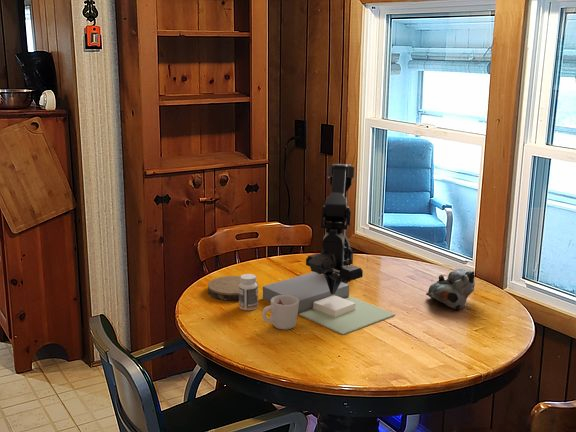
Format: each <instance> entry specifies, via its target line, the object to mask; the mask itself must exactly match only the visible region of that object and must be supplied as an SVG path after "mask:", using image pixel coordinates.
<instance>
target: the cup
mask: <svg viewBox="0 0 576 432" xmlns="http://www.w3.org/2000/svg"><path fill="white" fill-rule="evenodd" d="M298 307H299V299H298V298H296V297H294V296H290V295H278V296H275V297H273V298H272V299H271V302H270V305H267V306H264V308H263V310H262V313H261V314H262V319H263V321H264V322H266V323H272V325H273V326H274V327H275V328H277V329H280V330H283V331H284V330H286V331H287V330H291V329H293V328H295V326H296V325H297V320H298ZM268 311H270V312H271V313H270V317H269V318H268V317H267V312H268Z"/></svg>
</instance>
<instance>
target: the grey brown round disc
mask: <svg viewBox="0 0 576 432" xmlns="http://www.w3.org/2000/svg"><path fill="white" fill-rule="evenodd" d="M240 277H241V276H240V275H226V276H221V277H220V276H219V277H217V278H214V279H211V280H210V281H208V283H207V294H208V296H209V297H210V298H211V299H213V300H218V301H221V302H228V303H229V302H230V303H234V302H239V284H240V283H241V280H240ZM255 282H256V283H257V285H258V286H259V284H258V281H257V280H256V281H255Z"/></svg>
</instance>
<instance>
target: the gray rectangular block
mask: <svg viewBox="0 0 576 432" xmlns="http://www.w3.org/2000/svg"><path fill="white" fill-rule="evenodd" d="M278 295H290V296H294V297H296V298H298V299H299V307H298V314H300V313H303V312H306V311H309V310H312V309H314V308H313V302H315V301H318V300H321V299H323V298H326V297H329V296H332V295H335V296H338V297H341V298H343V299H346V298H349V297H350V284H349V283H346V282H344V283H343V282H341V283H340V285H339V287H338V289H337V290H336V292H335V294H331V293H330V290H329V287H328V284H327V281H326V278H325V276H324V275H323V274H318V273H316V272H314V271H313V272H312V271H311V272H308V273H306V274H302V275H297V276H294V277H291V278H287V279H284V280H280V281H277V282H273V283H270V284H266V285H264V286H262V299H264V300H265V301H268V302H269V303H271V299H272V298H273V297H275V296H278Z"/></svg>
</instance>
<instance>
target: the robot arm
mask: <svg viewBox="0 0 576 432" xmlns="http://www.w3.org/2000/svg"><path fill="white" fill-rule="evenodd" d="M355 171H356V169H355V166H352V164H345V163H344V164H342V163H332V164H331V165H328V166H327V178H328V179H329V185H330V186H331V188H330V195H329V196H327V197H326V198H325V203H324V205H322V213H321V221H320V228H321V229H325V230H324V231H325V232H324V233H325V234H324V236H323V240H322V241H321V242H322V243H321V244H322V247H321V248H320V253H319V252H318V253H315V254H311V255H307V257H306V258H305V265H306V266H308V267H310V268H309V269H310V272H311V273H312V272H316V273H318V274H322V275H324V276H325V278H326V281H327V284H328V287H329V290H330V293H331V294H335V292H336V290H337V289H338V287H339V285H340V283H341V282H343V283H348V282H351V281H354V280H357V279H361V278H363V275H364V274H363V273H364V271H363V269H362V267H360V266H359V267H358V266H356V265H354V264H353V263H354V251H352V247H350V239H348V238H349V237H348V236H347V235H346V230H349V229H348V228H349V226H351V218H352V217H351V216H352V210H351V209H350V206H348V199H347V198H348V197H347V195H348V191H349V189H350V188H351V186H352V183H353V180H355V173H356V172H355Z"/></svg>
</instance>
